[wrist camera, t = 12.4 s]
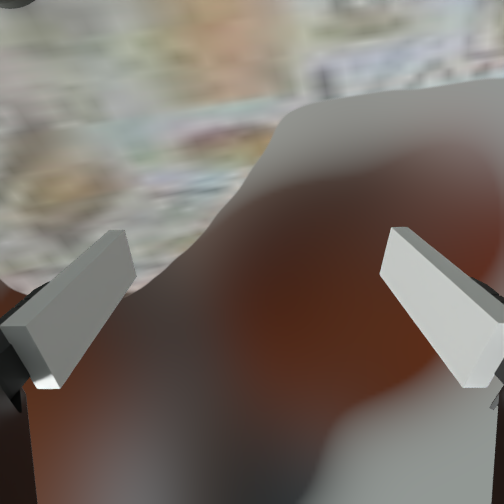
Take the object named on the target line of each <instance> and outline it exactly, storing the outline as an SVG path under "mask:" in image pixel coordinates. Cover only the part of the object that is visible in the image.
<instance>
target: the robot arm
mask: <svg viewBox="0 0 504 504" xmlns="http://www.w3.org/2000/svg"><path fill="white" fill-rule="evenodd" d="M33 1H34V0H0V8H8V9H12V8H20V7H23V6H26V5H28V4H30V3H31V2H33ZM380 276H381V277H382V278H383V280H384V281H385V282H386V284H387V285H388V287H389V288H390V289H391V291H392V292H393V293H394V295H395V296H396V297H397V299H398V300H399V301H400V303H401V304H402V306H403V307H404V308H405V310H406V311H407V312H408V314H409V315H410V317H411V318H412V319H413V321H414V322H415V323H416V324H417V326H418V327H419V329H420V330H421V331H422V333H423V334H424V336H425V337H426V338H427V340H428V341H429V342H430V344H431V345H432V346H433V348H434V349H435V350H436V352H437V353H438V355H439V356H440V357H441V359H442V360H443V361H444V363H445V364H446V365H447V367H448V368H449V370H450V371H451V372H452V374H453V375H454V376H455V378H456V379H457V380H458V381H459V383H460V384H461V386H462V387H463V388H487V387H488V385H489V383H490V382H491V380H492V378H493V377H494V375H496V376H497V377H498V378H499V379H500V381H501V382H502V383H503V384H504V297H502V296H499V294H498V293H497V292H496V291H494V290H493V289H492V288H491V287H489V286H488V285H486V284H484V283H482V282H480V281H478V280H476V279H475V278H472V277H469V276H467V275H466V274H465V273H464V272H462V271H461V270H460V269H459V268H458V267H456V266H455V265H454V264H452V263H451V262H450V261H449V260H448V259H446V258H445V257H444V256H442V255H441V254H440V253H439V252H438V251H436V250H435V249H434V248H433V247H431V246H430V245H429V244H427V243H426V242H425V241H424V240H423V239H421V238H420V237H419V236H417V235H416V234H415V233H414V232H413V231H411V230H410V229H409V228H408V227H391V231H390V235H389V239H388V243H387V247H386V251H385V255H384V259H383V263H382V267H381V271H380ZM136 277H137V275H136V272H135V268H134V264H133V260H132V256H131V252H130V248H129V245H128V241H127V237H126V233H125V230H109V231H108V232H107V233H106V234H104V235H103V236H102V237H101V238H100V239H99V240H98V241H96V242H95V243H94V244H93V245H92V246H91V247H90V248H88V249H87V250H86V251H85V252H84V253H83V254H81V255H80V256H79V257H78V258H77V259H76V260H75V261H73V262H72V263H71V264H70V265H69V266H68V267H67V268H65V269H64V270H63V271H62V272H61V273H60V274H58V275H57V276H56V277H55V278H54V279H53V280H52V281H50V282H47V283H45V284H44V285H42V286H40V287H38V288H36V289H34V290H33V291H32V292H31V293H30V294H29V295H27V296H26V297H25V298H24V300H21V301H20V302H19V303H18V304H17V305H15V308H12V309H11V310H10V311H8V312H7V313H6V314H5V315H4V316H2V317H1V318H0V504H37V495H36V486H35V476H34V467H33V457H32V447H31V438H30V429H29V419H28V410H27V400H26V394H25V392H24V390H23V388H22V386H23V385H24V383H25V382H26V381H27V380H28V379H29V377H30V378H31V379H32V381H33V383H34V384H35V386H36V387H37V388H38V389H60V388H61V387H62V385H63V384H64V383H65V381H66V380H67V378H68V377H69V375H70V374H71V372H72V370H73V369H74V368H75V366H76V365H77V363H78V362H79V361H80V359H81V358H82V356H83V355H84V353H85V352H86V350H87V349H88V347H89V345H90V344H91V343H92V341H93V340H94V338H95V337H96V335H97V334H98V333H99V331H100V330H101V328H102V327H103V325H104V324H105V322H106V321H107V320H108V318H109V317H110V315H111V314H112V312H113V311H114V309H115V307H116V306H117V304H118V303H119V302H120V300H121V299H122V298H123V296H124V295H125V293H126V292H127V290H128V289H129V287H130V286H131V284H132V283H133V281H134V280H135V278H136ZM496 406H498V419H497V432H496V433H497V434H496V447H495V460H494V474H493V475H494V476H493V490H492V503H491V504H504V386H503V387H502V389H501V390H500V392H499V393H498V395H497V396H496V398H495V399H494V401H493V402H492V404H491V406H490V408H491V409H493V410H494V409H495V407H496Z"/></svg>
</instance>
